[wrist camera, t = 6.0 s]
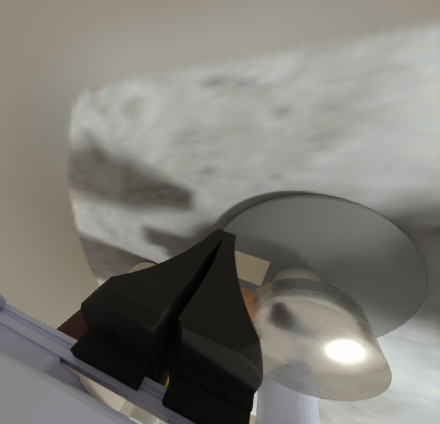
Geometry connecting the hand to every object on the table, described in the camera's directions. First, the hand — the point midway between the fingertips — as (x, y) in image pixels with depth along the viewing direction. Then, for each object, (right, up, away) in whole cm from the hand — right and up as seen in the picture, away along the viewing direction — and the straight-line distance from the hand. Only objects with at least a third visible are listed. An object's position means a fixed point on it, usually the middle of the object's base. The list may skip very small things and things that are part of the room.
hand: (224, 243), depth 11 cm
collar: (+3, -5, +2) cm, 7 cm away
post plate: (+7, -4, +5) cm, 10 cm away
